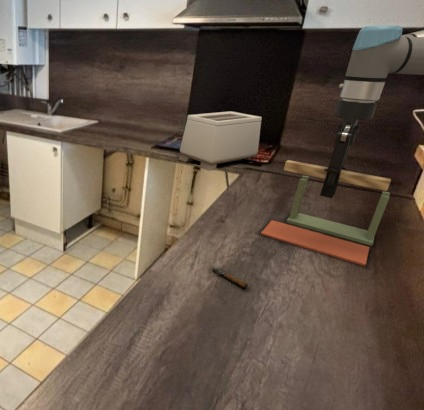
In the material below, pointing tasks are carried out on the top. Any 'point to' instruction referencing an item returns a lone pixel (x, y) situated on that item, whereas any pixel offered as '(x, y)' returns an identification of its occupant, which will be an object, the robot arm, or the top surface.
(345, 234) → the rack
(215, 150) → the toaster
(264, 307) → the top surface
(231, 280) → the can opener
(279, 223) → the mat
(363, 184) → the hanger bar
